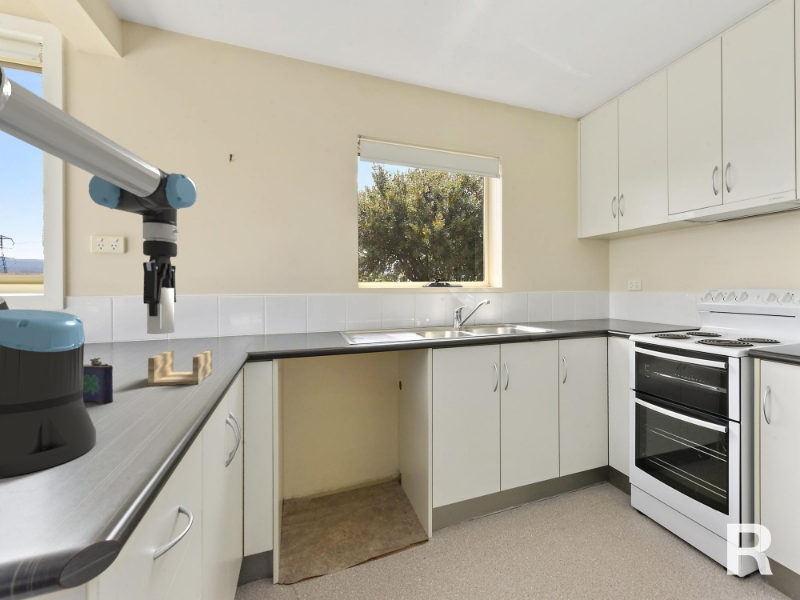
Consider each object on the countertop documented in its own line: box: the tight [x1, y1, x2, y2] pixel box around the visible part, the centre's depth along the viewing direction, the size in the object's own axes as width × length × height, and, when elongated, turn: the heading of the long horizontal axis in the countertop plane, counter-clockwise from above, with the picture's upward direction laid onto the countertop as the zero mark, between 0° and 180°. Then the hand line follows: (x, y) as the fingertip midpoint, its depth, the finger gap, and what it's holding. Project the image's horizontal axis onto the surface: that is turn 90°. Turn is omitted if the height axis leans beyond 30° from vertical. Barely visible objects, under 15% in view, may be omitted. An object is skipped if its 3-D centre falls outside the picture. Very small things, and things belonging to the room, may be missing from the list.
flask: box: [83, 357, 114, 405], centre depth 84 cm, size 9×3×11 cm, turn 83°
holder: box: [147, 349, 213, 387], centre depth 107 cm, size 14×13×8 cm
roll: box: [146, 287, 175, 335], centre depth 93 cm, size 6×6×12 cm
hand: (160, 327), depth 93 cm, fingers closed on roll, 6 cm apart
